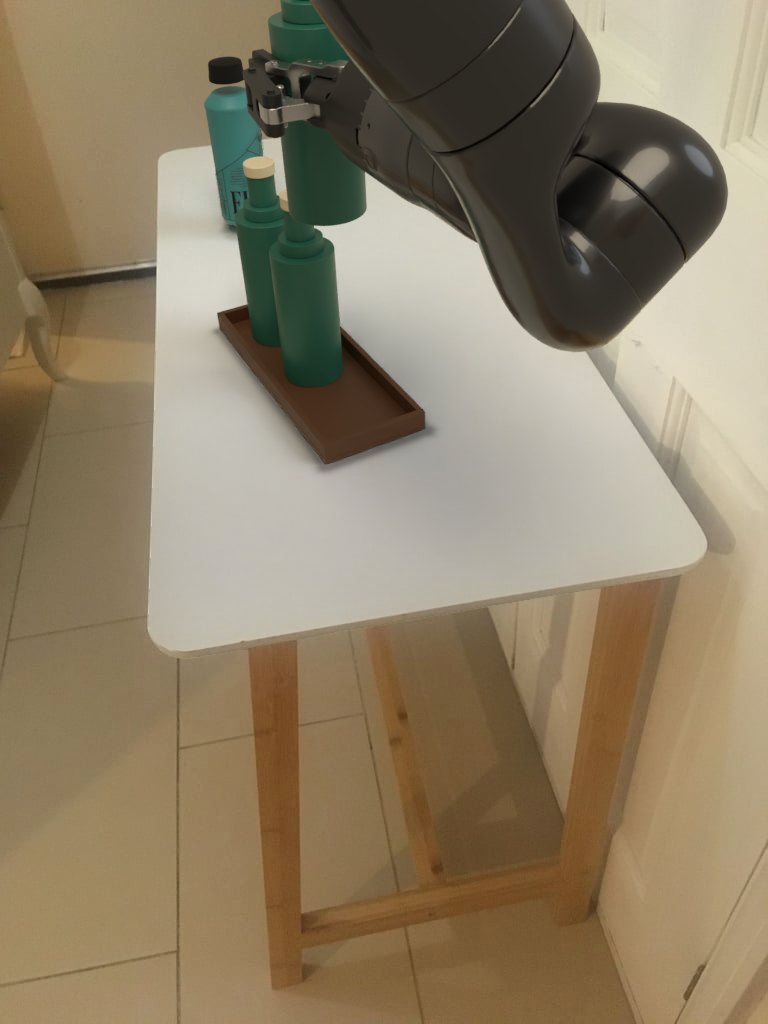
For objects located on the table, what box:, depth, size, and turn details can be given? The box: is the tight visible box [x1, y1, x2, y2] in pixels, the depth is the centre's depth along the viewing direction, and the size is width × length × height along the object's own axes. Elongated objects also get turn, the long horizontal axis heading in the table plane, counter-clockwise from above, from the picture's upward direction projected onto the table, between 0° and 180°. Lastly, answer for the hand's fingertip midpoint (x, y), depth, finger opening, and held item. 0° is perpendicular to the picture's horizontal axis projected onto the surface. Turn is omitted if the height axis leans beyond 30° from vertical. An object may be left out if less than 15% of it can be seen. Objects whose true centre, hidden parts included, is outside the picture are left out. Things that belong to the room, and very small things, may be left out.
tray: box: [216, 303, 426, 465], centre depth 87 cm, size 27×10×2 cm, turn 28°
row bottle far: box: [234, 156, 285, 347], centre depth 87 cm, size 6×6×18 cm
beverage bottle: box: [203, 56, 265, 227], centre depth 106 cm, size 6×7×20 cm
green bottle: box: [267, 0, 368, 227], centre depth 60 cm, size 6×6×18 cm
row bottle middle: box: [269, 189, 343, 387], centre depth 81 cm, size 6×6×18 cm
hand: (301, 58), depth 61 cm, fingers closed on green bottle, 6 cm apart
